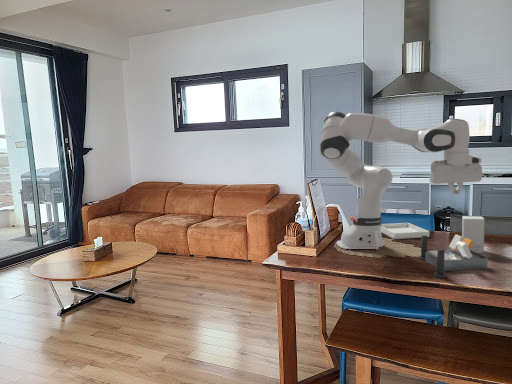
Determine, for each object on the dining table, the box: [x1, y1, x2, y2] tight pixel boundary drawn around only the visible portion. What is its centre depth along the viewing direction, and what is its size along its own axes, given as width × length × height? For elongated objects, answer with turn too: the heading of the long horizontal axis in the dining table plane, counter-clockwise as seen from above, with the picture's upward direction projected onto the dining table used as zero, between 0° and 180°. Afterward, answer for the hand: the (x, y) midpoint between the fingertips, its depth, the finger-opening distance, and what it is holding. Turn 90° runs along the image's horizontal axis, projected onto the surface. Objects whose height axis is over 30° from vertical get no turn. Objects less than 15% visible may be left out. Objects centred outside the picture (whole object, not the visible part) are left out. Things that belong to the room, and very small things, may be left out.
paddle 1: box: [448, 234, 465, 251], centre depth 153 cm, size 2×4×6 cm, turn 5°
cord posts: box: [417, 235, 448, 279], centre depth 146 cm, size 4×25×10 cm, turn 171°
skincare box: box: [461, 215, 485, 254], centre depth 164 cm, size 8×7×16 cm
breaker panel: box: [424, 249, 489, 272], centre depth 148 cm, size 18×13×5 cm
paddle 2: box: [456, 241, 472, 259], centre depth 142 cm, size 2×4×6 cm, turn 5°
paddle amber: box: [457, 238, 475, 252], centre depth 148 cm, size 2×4×6 cm
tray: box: [381, 222, 430, 240], centre depth 201 cm, size 19×22×3 cm
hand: (455, 193), depth 149 cm, fingers closed
